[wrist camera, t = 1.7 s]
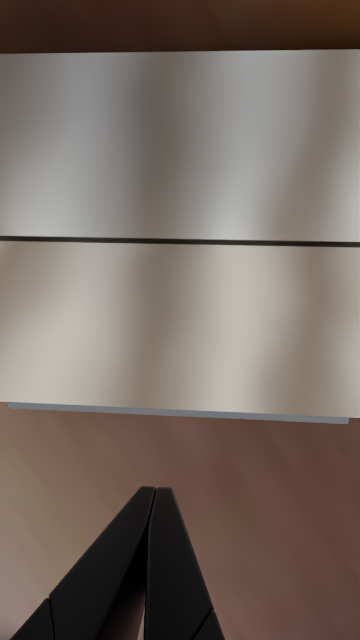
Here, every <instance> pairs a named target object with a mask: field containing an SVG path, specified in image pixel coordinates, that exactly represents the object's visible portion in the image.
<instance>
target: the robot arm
mask: <svg viewBox="0 0 360 640" xmlns="http://www.w3.org/2000/svg"><path fill="white" fill-rule="evenodd" d="M144 606H145V614H144V639H143V640H225V638H224V636H223V633H222V630H221V627H220V625H219V622H218V619H217V616H216V613H215V612H214V608H213V605H212V602H211V599H210V596H209V593H208V591H207V588H206V585H205V582H204V579H203V576H202V573H201V570H200V567H199V565H198V562H197V559H196V556H195V553H194V550H193V547H192V544H191V541H190V539H189V536H188V533H187V530H186V527H185V524H184V521H183V518H182V515H181V513H180V510H179V507H178V504H177V501H176V498H175V495H174V492H173V490H172V488H169V487H158V488H157V489H156V488H155V487H152V486H142V487H140V488H139V489H138V491H137V492H136V493H135V494H134V495H133V497H132V498H131V499H130V500H129V501H128V502H127V504H126V505H125V506H124V507H123V508H122V509H121V511H120V512H119V513H118V514H117V515H116V517H115V518H114V519H113V520H112V521H111V522H110V524H109V525H108V526H107V527H106V528H105V529H104V531H103V532H102V533H101V534H100V535H99V537H98V538H97V539H96V540H95V541H94V542H93V544H92V545H91V546H90V547H89V548H88V549H87V551H86V552H85V553H84V554H83V555H82V557H81V558H80V559H79V560H78V561H77V562H76V564H75V565H74V566H73V567H72V568H71V570H70V571H69V572H68V573H67V574H66V575H65V577H64V578H63V579H62V580H61V581H60V582H59V584H58V585H57V586H56V587H55V588H54V590H53V591H52V592H51V593H50V594H49V598H46V599H45V600H44V601H43V602H42V603H41V605H40V606H39V607H38V608H37V609H36V610H35V612H34V613H33V614H32V615H31V616H30V617H29V619H28V620H27V621H26V622H25V623H24V624H23V625H22V626H21V628H20V629H19V630H18V631H17V632H16V633H15V634H14V635H13V637H12V638H11V639H10V640H137V638H138V633H139V629H140V624H141V619H142V615H143V610H144Z"/></svg>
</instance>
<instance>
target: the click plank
mask: <svg viewBox="0 0 360 640" xmlns="http://www.w3.org/2000/svg"><path fill="white" fill-rule="evenodd" d="M0 402H22V403H44V404H66V405H88V406H110V407H132V408H154V409H176V410H198V411H220V412H242V413H264V414H286V415H308V416H330V417H352V418H360V248H353V247H299V246H244V245H190V244H136V243H81V242H27V241H0Z"/></svg>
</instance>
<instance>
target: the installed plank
mask: <svg viewBox="0 0 360 640" xmlns="http://www.w3.org/2000/svg"><path fill="white" fill-rule="evenodd" d="M0 241H27V242H81V243H136V244H190V245H244V246H299V247H353V248H360V49H344V50H268V51H192V52H116V53H40V54H0Z"/></svg>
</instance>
